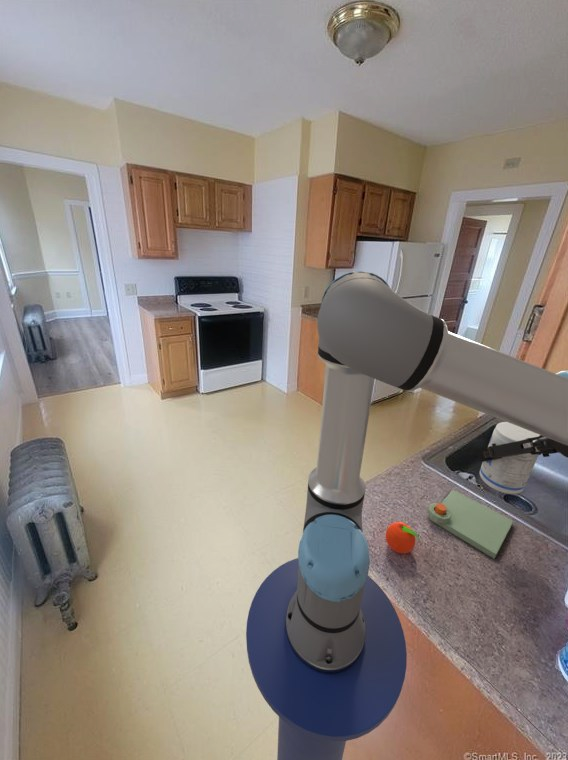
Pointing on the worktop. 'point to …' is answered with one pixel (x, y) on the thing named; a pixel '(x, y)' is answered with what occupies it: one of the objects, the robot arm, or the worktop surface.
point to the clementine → (400, 537)
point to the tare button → (440, 509)
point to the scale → (472, 522)
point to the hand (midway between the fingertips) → (497, 454)
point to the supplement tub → (509, 461)
